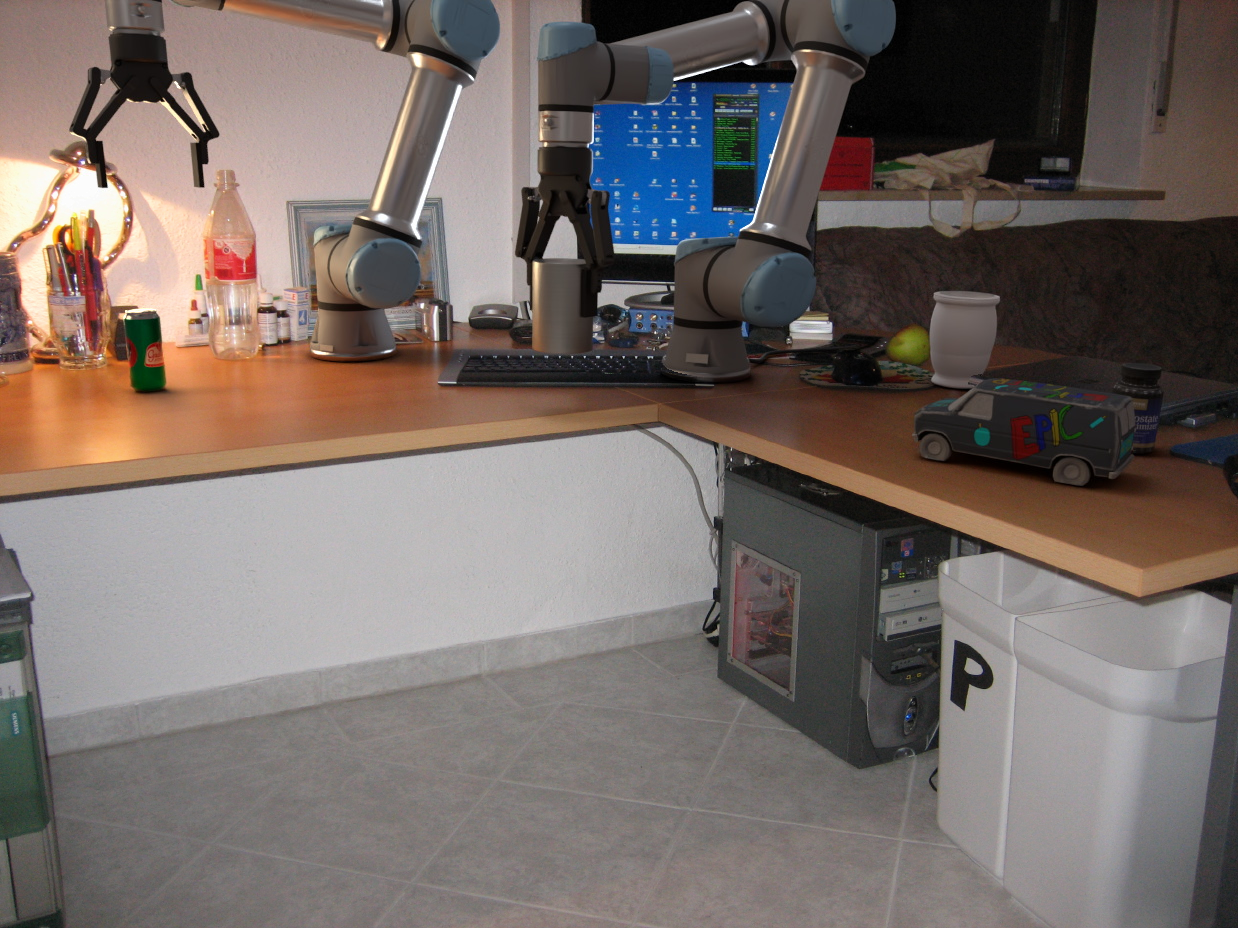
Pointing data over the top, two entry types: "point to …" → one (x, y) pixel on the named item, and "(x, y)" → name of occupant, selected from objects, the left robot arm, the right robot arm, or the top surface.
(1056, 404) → the toy van
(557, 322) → the can
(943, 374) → the jar
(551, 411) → the top surface
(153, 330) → the soda can
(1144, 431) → the pill bottle
